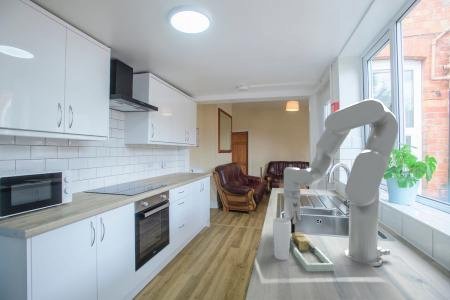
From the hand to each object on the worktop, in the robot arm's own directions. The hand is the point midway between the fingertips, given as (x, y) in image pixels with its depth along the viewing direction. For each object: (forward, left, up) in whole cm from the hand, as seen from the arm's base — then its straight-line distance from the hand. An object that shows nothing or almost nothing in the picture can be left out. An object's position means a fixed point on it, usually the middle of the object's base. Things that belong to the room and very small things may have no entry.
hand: (290, 232), depth 106 cm
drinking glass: (+10, +19, -3) cm, 22 cm away
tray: (0, +23, -3) cm, 23 cm away
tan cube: (0, +13, -2) cm, 13 cm away
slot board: (0, +11, -3) cm, 11 cm away
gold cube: (0, +8, -2) cm, 8 cm away
